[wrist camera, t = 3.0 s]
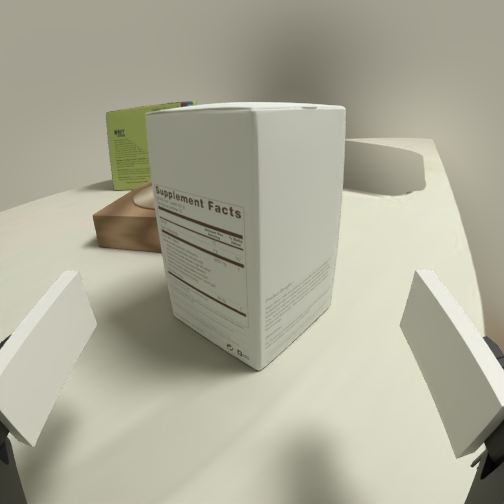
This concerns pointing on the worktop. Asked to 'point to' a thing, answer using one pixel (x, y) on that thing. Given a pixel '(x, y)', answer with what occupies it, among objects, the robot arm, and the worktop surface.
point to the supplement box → (248, 218)
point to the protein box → (131, 144)
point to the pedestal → (129, 222)
